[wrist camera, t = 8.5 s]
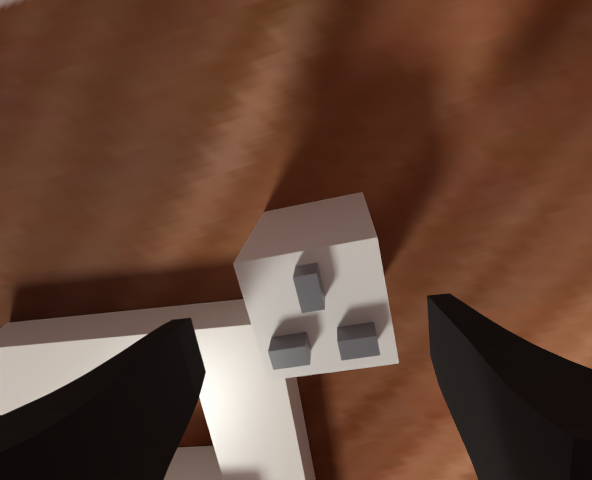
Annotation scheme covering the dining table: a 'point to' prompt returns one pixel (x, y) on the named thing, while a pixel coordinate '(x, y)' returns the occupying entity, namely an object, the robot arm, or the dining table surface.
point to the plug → (317, 289)
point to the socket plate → (214, 394)
